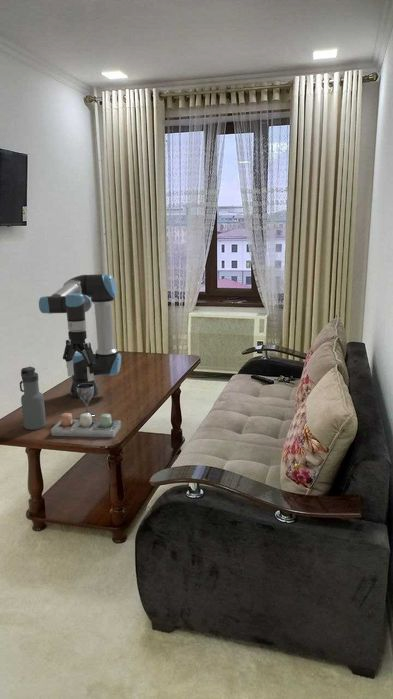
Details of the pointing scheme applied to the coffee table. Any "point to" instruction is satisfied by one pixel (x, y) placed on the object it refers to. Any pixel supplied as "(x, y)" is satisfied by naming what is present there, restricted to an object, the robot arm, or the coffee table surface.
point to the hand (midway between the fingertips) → (80, 378)
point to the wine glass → (86, 394)
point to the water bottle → (32, 400)
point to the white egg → (86, 420)
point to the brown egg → (66, 420)
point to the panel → (86, 429)
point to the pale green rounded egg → (105, 421)
